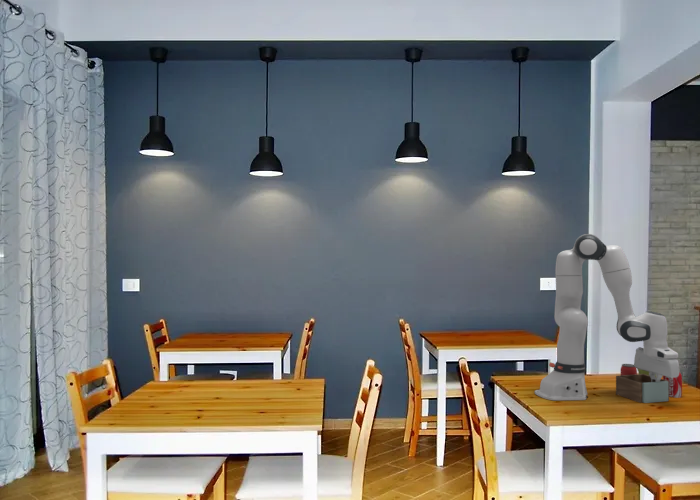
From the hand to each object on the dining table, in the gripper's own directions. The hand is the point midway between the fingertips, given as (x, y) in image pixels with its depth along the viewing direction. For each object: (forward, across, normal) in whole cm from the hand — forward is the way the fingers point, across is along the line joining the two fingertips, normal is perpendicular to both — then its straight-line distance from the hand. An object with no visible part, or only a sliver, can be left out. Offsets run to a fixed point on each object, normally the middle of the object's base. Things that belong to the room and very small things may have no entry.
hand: (655, 383), depth 224 cm
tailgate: (+7, +1, -2) cm, 7 cm away
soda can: (+8, -4, +13) cm, 16 cm away
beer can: (+8, -18, +3) cm, 20 cm away
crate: (+8, -5, -2) cm, 10 cm away
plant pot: (+8, -25, +20) cm, 33 cm away
